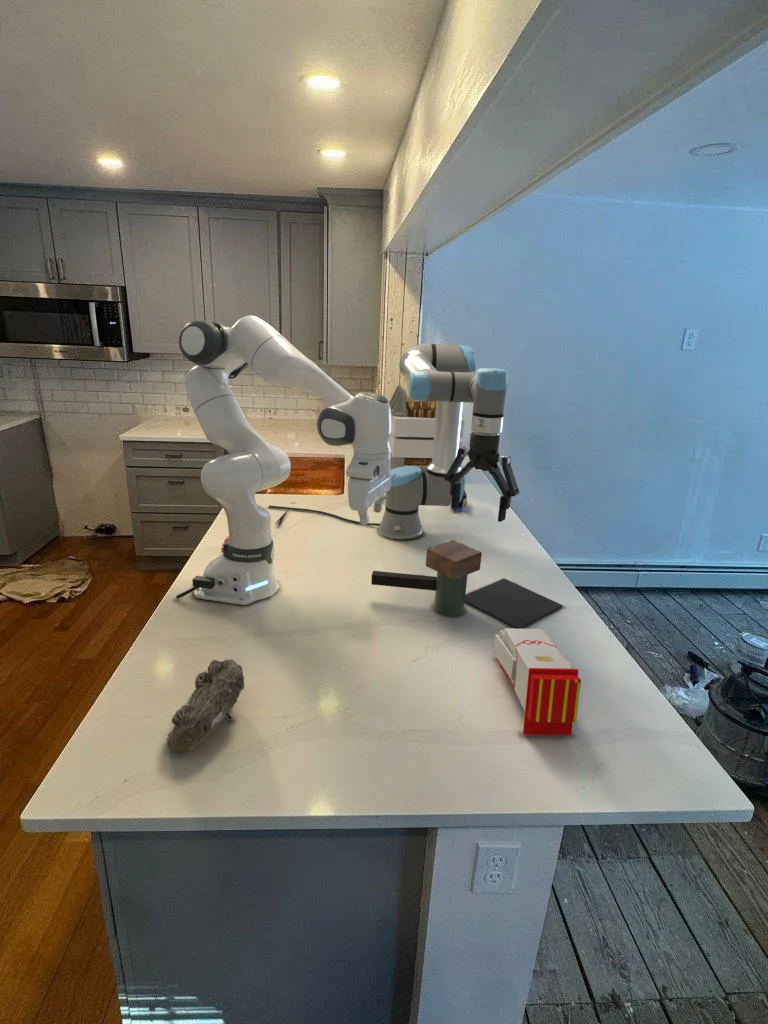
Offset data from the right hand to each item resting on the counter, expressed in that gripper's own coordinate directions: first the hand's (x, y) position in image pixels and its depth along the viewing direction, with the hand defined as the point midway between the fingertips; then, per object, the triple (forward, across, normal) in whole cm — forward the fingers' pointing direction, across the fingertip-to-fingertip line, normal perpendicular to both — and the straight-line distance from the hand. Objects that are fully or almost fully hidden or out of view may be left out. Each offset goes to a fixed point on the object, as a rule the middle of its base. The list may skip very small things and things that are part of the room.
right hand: (477, 514), depth 147 cm
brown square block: (+14, -2, -7) cm, 15 cm away
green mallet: (+26, -9, -11) cm, 29 cm away
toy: (+26, +29, -25) cm, 46 cm away
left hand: (-1, -17, -23) cm, 29 cm away
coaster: (+26, +9, +7) cm, 28 cm away
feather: (+25, -86, +12) cm, 90 cm away
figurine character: (+25, -43, +66) cm, 83 cm away
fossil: (+26, -14, -73) cm, 79 cm away
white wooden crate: (+25, -83, +97) cm, 130 cm away
